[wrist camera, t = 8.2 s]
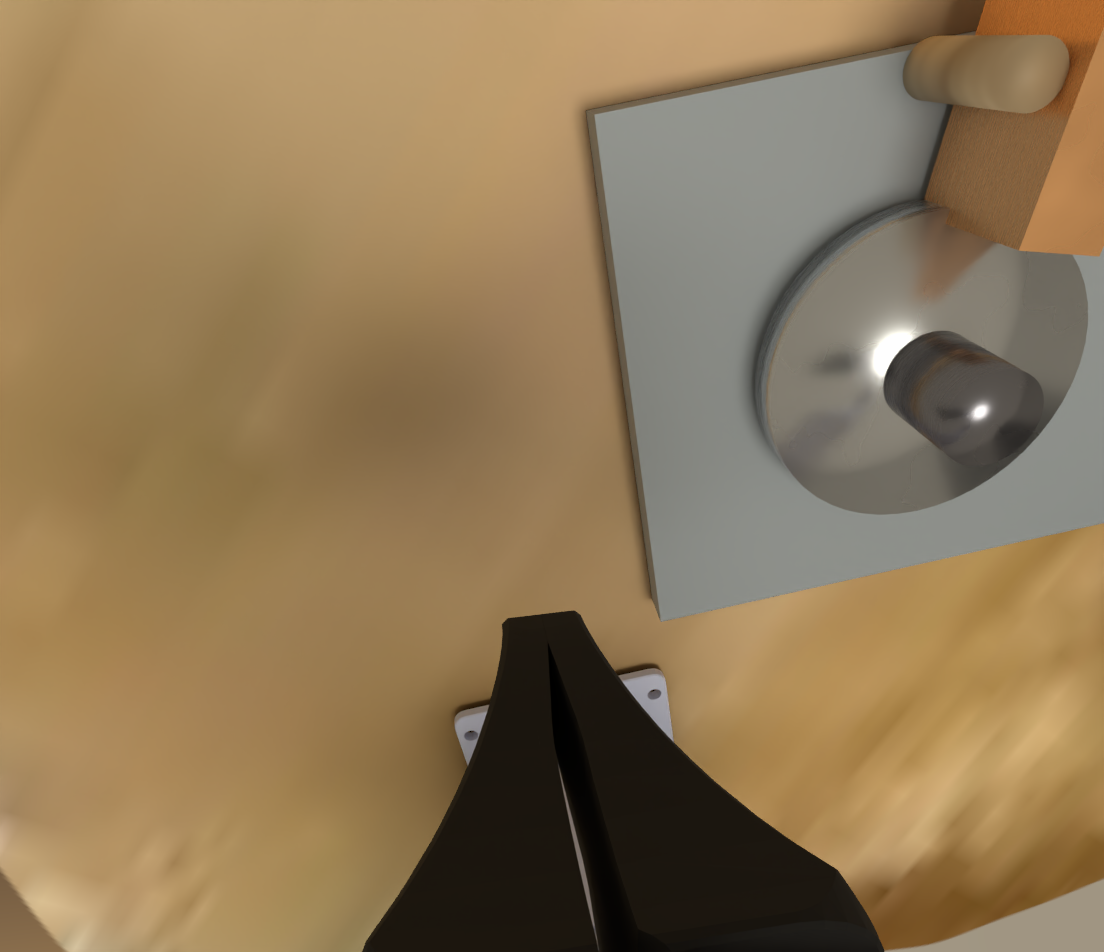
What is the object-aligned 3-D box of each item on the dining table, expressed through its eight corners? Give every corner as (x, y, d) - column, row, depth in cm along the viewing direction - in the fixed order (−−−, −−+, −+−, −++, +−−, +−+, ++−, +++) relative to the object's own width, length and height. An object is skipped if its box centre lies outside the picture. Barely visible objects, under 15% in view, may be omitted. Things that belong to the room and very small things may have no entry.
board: (1137, 492, 28) (1164, 509, 27) (652, 599, 27) (660, 621, 26) (1270, -30, 20) (1316, -34, 19) (585, 110, 19) (594, 114, 18)
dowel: (955, 94, 19) (1063, 106, 16) (900, 106, 19) (997, 120, 16) (960, 30, 18) (1075, 28, 15) (904, 41, 18) (1006, 42, 15)
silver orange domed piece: (988, 496, 25) (1076, 569, 22) (726, 492, 24) (775, 569, 20) (1203, -8, 18) (1380, -18, 15) (855, -56, 17) (961, -80, 14)
